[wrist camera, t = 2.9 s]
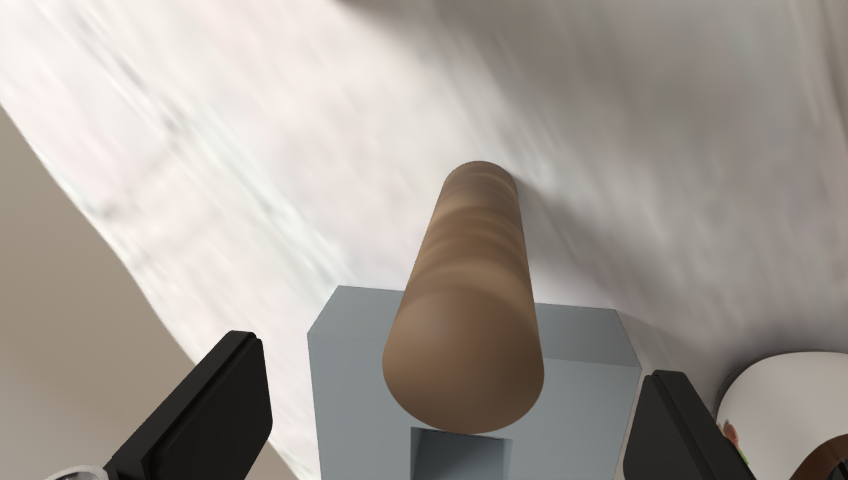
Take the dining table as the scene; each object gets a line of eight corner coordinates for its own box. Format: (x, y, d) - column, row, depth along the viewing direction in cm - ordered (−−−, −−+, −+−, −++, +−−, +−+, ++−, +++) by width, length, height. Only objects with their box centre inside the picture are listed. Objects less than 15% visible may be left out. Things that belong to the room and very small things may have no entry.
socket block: (615, 310, 25) (642, 367, 21) (572, 506, 32) (585, 583, 27) (338, 285, 27) (307, 333, 23) (350, 475, 34) (327, 542, 29)
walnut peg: (521, 163, 23) (555, 311, 10) (513, 236, 25) (534, 442, 12) (442, 159, 23) (380, 295, 11) (439, 230, 25) (383, 424, 12)
